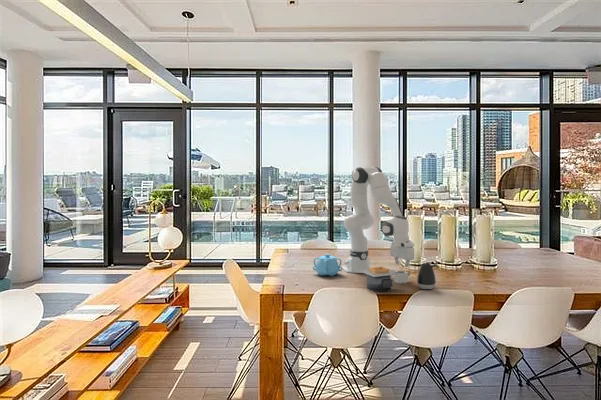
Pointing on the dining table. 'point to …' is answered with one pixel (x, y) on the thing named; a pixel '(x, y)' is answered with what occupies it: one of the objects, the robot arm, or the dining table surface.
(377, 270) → the clip collar
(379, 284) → the motor
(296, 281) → the dining table surface
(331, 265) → the decorative pot
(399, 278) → the pump housing
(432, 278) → the pump dispenser
